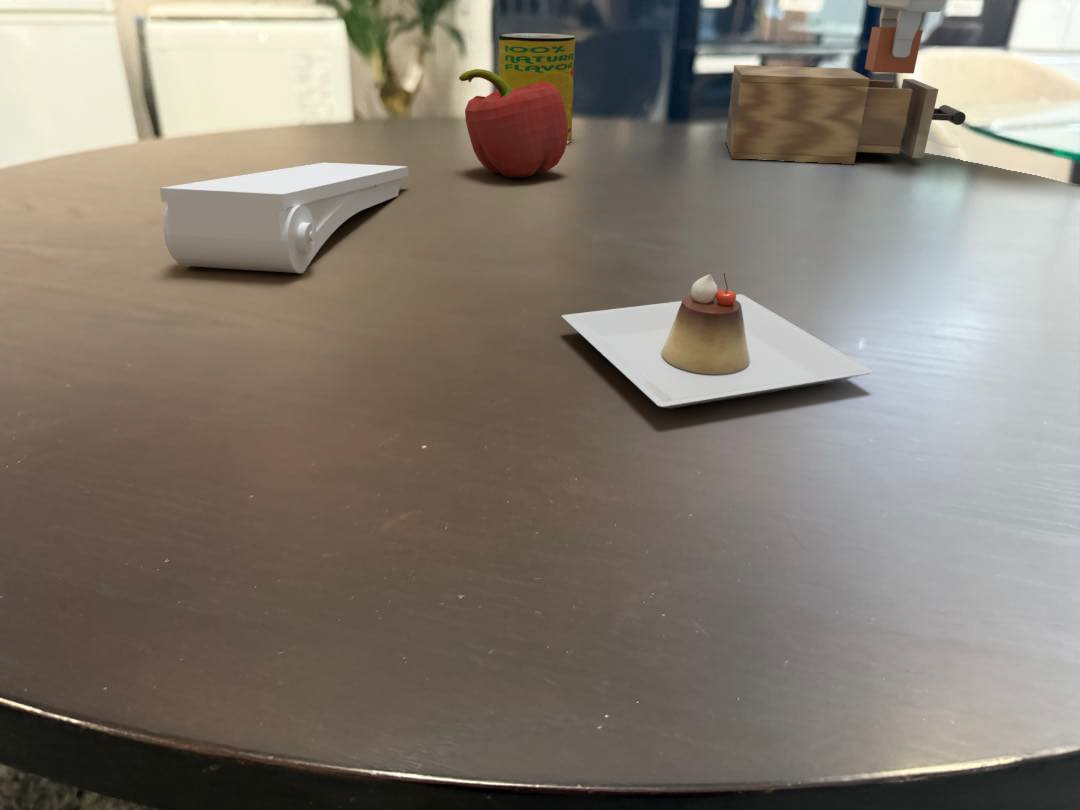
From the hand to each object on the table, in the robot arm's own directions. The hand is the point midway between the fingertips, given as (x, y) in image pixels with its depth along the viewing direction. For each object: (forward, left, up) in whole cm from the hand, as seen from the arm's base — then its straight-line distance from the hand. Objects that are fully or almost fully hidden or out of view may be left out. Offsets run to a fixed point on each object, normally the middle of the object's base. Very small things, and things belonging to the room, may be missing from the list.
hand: (892, 54), depth 94 cm
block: (0, 0, -2) cm, 2 cm away
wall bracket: (+30, +60, -11) cm, 68 cm away
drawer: (0, 0, -10) cm, 10 cm away
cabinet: (+9, +4, -11) cm, 15 cm away
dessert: (-7, +67, -11) cm, 68 cm away
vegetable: (+28, +34, -11) cm, 46 cm away
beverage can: (+37, +16, -11) cm, 42 cm away
